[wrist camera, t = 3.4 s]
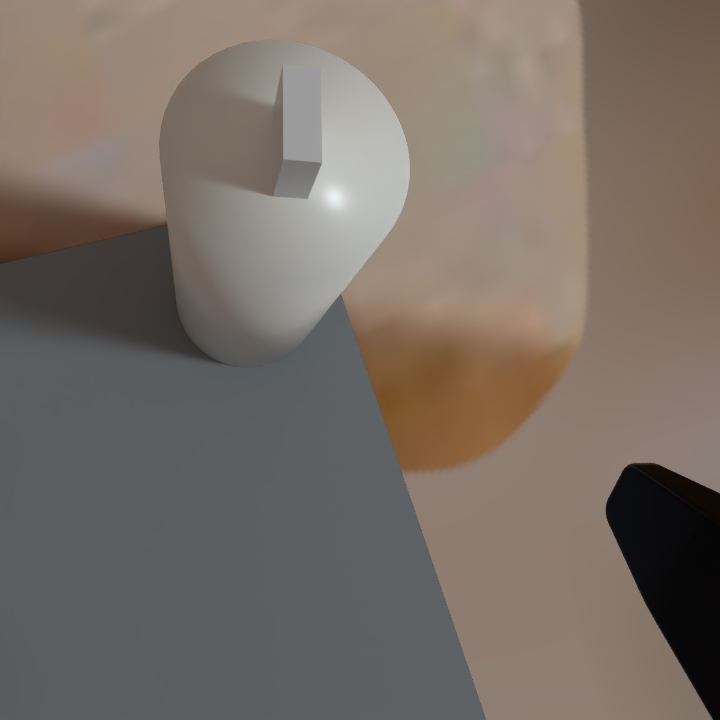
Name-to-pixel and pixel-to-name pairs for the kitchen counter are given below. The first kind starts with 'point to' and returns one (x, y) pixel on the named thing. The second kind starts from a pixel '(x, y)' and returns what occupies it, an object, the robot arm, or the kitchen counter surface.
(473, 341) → the kitchen counter surface
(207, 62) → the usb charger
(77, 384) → the desk mat
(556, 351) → the kitchen counter surface
